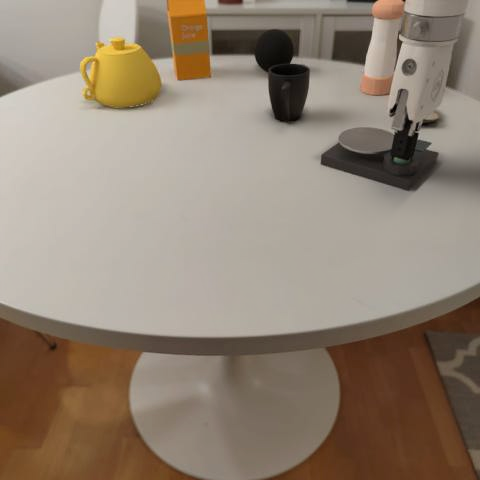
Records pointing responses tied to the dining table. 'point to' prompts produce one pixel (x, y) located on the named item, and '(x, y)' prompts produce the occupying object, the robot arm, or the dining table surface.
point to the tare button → (401, 160)
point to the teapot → (120, 75)
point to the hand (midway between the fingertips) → (401, 156)
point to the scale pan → (372, 140)
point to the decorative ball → (273, 49)
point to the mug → (288, 90)
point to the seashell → (431, 117)
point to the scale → (380, 165)
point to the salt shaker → (382, 47)
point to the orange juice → (189, 38)
